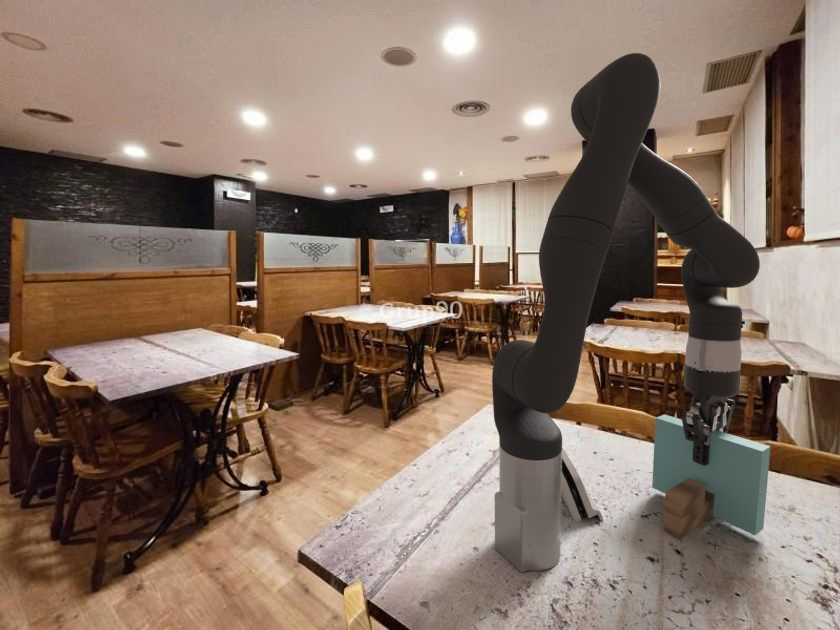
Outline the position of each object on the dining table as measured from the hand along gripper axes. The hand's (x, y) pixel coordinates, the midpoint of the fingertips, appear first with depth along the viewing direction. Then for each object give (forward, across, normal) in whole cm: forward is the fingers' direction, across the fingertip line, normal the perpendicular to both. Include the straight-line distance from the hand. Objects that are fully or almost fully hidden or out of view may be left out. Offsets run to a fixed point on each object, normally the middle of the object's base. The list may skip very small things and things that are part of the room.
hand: (705, 460), depth 68 cm
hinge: (+10, +15, -17) cm, 25 cm away
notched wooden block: (+10, 0, 0) cm, 10 cm away
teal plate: (+9, 0, 0) cm, 9 cm away
